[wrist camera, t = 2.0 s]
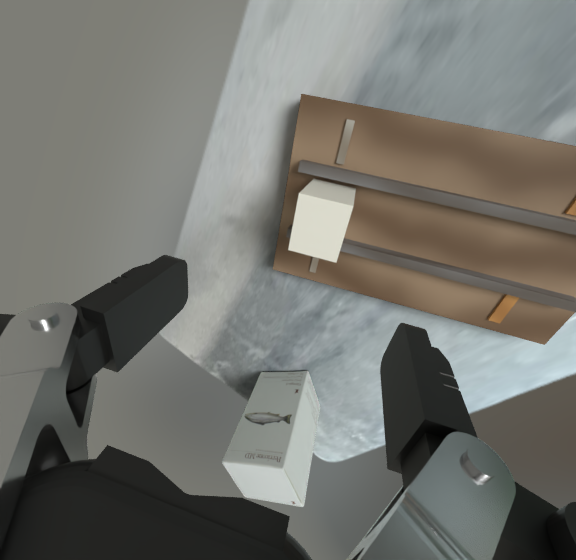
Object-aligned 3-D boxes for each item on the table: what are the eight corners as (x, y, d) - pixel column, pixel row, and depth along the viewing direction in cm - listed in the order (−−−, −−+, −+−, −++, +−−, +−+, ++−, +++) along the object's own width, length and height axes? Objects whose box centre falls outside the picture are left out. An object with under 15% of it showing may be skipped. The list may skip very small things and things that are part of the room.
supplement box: (309, 368, 36) (285, 470, 25) (321, 406, 39) (305, 510, 28) (259, 369, 38) (219, 462, 28) (275, 404, 41) (243, 500, 31)
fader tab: (313, 178, 22) (298, 193, 17) (355, 188, 22) (353, 206, 16) (304, 224, 24) (288, 249, 19) (342, 234, 24) (336, 262, 18)
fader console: (306, 96, 21) (298, 91, 19) (674, 167, 18) (729, 173, 15) (278, 261, 29) (269, 274, 26) (532, 330, 26) (552, 354, 23)
